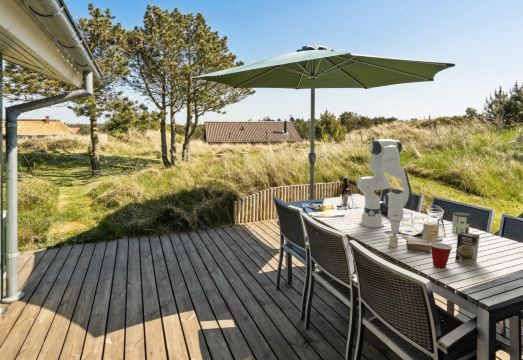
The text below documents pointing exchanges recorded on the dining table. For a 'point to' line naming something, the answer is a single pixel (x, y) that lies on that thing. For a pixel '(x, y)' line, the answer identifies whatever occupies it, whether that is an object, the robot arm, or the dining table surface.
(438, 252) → the plastic cup
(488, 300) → the dining table surface
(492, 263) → the dining table surface
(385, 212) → the portable speaker
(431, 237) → the supplement box
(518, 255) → the dining table surface
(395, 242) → the maple block
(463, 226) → the coffee can
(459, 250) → the coffee box
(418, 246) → the walnut block
